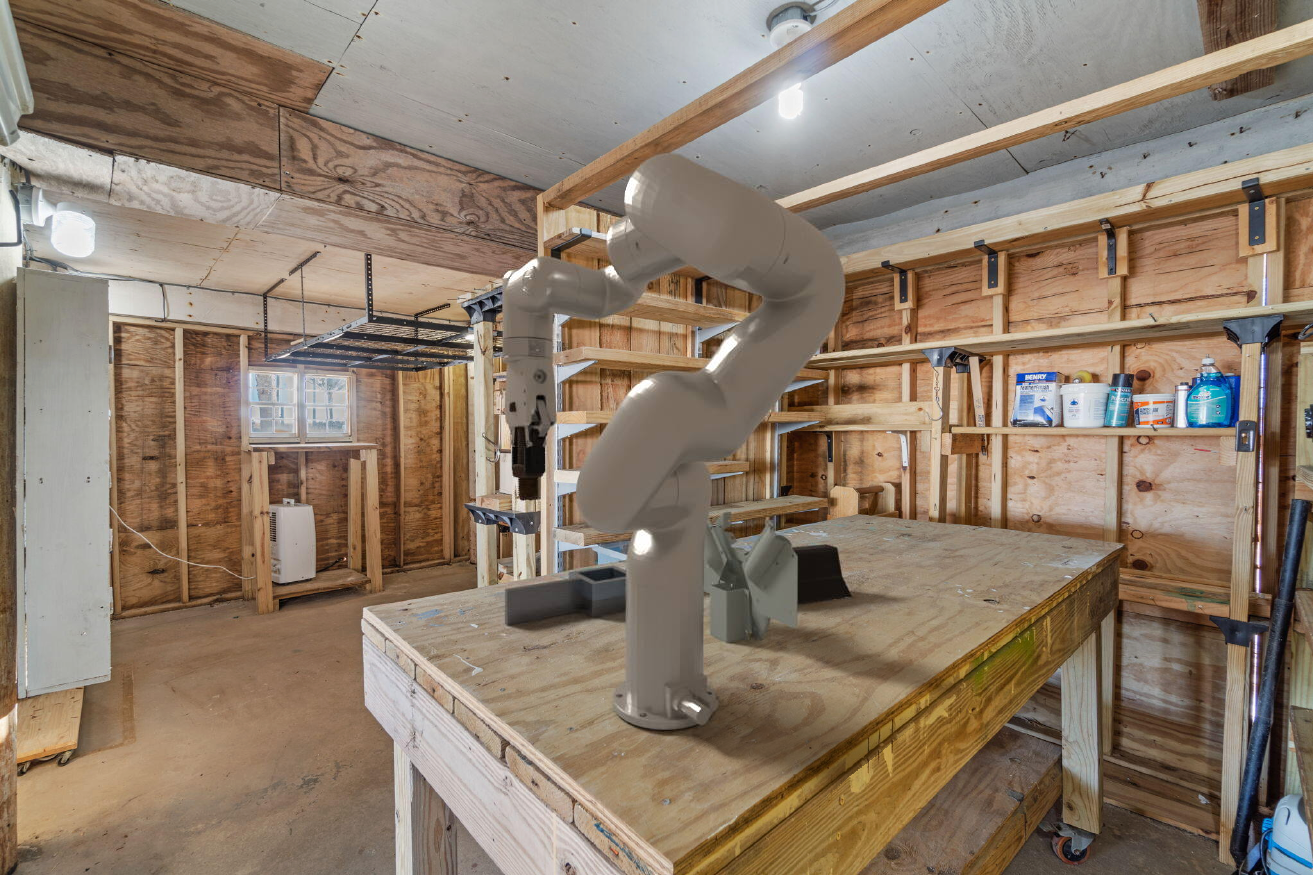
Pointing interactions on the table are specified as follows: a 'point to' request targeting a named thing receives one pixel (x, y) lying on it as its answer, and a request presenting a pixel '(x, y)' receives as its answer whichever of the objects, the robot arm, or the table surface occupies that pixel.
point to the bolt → (525, 481)
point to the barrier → (819, 574)
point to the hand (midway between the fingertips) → (528, 471)
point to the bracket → (749, 582)
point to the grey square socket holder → (569, 596)
